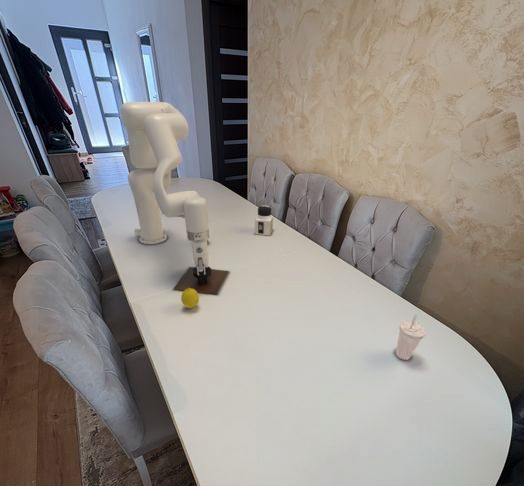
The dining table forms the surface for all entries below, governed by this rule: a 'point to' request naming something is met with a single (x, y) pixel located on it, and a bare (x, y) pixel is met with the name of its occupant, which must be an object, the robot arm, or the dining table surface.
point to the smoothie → (409, 338)
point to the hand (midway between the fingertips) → (202, 278)
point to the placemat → (210, 288)
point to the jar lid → (207, 269)
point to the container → (264, 221)
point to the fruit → (190, 298)
